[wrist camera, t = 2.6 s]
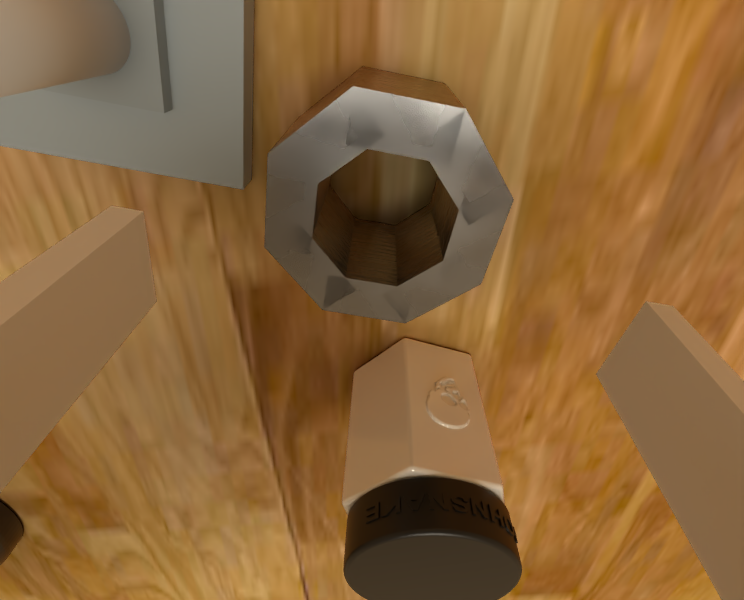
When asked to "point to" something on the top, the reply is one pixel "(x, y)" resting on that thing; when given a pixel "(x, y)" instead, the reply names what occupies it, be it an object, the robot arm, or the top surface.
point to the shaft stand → (132, 84)
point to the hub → (377, 240)
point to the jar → (424, 482)
